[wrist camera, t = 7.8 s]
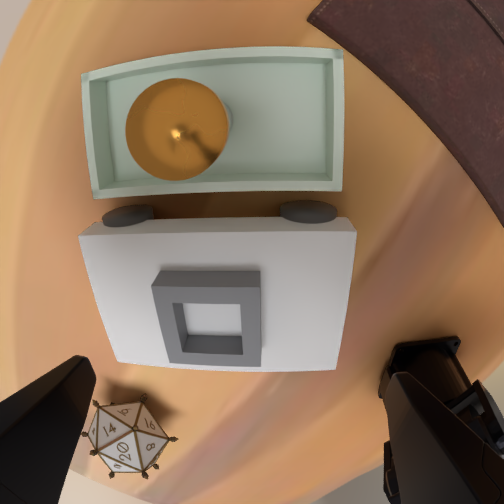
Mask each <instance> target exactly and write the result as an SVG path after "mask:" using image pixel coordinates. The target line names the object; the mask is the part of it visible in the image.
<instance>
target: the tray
mask: <svg viewBox="0 0 504 504" xmlns="http://www.w3.org/2000/svg"><path fill="white" fill-rule="evenodd" d="M170 78H184V79H189V80H193V81H196V82H199V83H201V84H204V85H205V86H207V87H209V88H210V89H212V90H213V91H214V92H215V93H216V94H217V95H218V96H219V97H220V99H221V100H222V101H223V102H224V103H226V104H227V105H228V106H229V108H230V109H231V111H232V114H233V126H232V129H231V131H230V132H229V136H228V140H227V143H226V146H225V148H224V150H223V152H222V153H221V155H220V156H219V157H218V159H217V160H216V161H215V162H214V163H213V164H212V165H211V166H210V167H209V168H208V169H206V170H205V171H204V172H202V173H201V174H199V175H197V176H195V177H192V178H190V179H186V180H180V181H169V180H163V179H160V178H157V177H154V176H152V175H151V174H149V173H147V172H146V171H144V170H143V169H142V168H141V167H140V166H139V165H138V164H137V163H136V161H135V160H134V159H133V157H132V155H131V154H130V151H129V149H128V146H127V142H126V136H125V126H126V119H127V115H128V113H129V110H130V108H131V106H132V104H133V102H134V101H135V100H136V98H137V97H138V96H139V95H140V94H141V93H142V92H143V91H144V90H145V89H146V88H148V87H149V86H151V85H153V84H155V83H157V82H159V81H162V80H165V79H170ZM81 87H82V107H83V121H84V132H85V142H86V151H87V160H88V167H89V174H90V181H91V188H92V194H93V199H104V198H116V197H129V196H143V195H159V194H178V193H200V192H231V191H342V180H343V156H344V62H343V50H340V49H328V48H313V47H283V46H267V47H237V48H222V49H210V50H200V51H191V52H183V53H176V54H169V55H163V56H157V57H151V58H146V59H141V60H136V61H131V62H126V63H122V64H117V65H113V66H109V67H105V68H101V69H97V70H94V71H90V72H87V73H83V74H81Z"/></svg>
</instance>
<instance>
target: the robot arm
mask: <svg viewBox="0 0 504 504" xmlns="http://www.w3.org/2000/svg"><path fill="white" fill-rule="evenodd" d="M460 343H461V340H460V339H459V337H449V338H442V339H435V340H427V341H419V342H410V343H401V344H398V345H396V346H395V347H394V350H393V353H392V356H391V359H390V362H389V365H388V366H387V368H386V369H385V372H384V375H383V378H382V380H381V383H380V386H379V392H378V396H379V398H381V399H383V402H384V405H385V409H386V412H387V417H388V426H389V437H390V440H389V441H387V442H385V443H384V492H385V493H386V496H387V498H388V500H389V502H390V503H391V504H504V418H503V416H502V414H501V412H500V410H499V408H498V406H497V404H496V403H495V401H494V399H493V398H492V396H491V395H490V393H489V392H488V391H487V390H486V388H485V387H484V386H483V385H482V383H481V382H480V381H479V380H478V379H477V380H476V381H475V382H474V383H472V384H471V383H470V381H469V379H468V377H467V375H466V374H465V372H464V370H463V368H462V366H461V365H460V363H459V361H458V359H457V358H456V356H455V354H456V352H457V350H458V347H459V345H460ZM400 349H401V350H400ZM95 384H96V375H95V372H94V370H93V368H92V365H91V363H90V361H89V359H88V358H87V357H85V356H80V355H75V356H73V357H72V358H70V359H68V360H67V361H65V362H64V363H62V364H60V365H59V366H57V367H56V368H54V369H52V370H51V371H49V372H48V373H46V374H44V375H43V376H41V377H40V378H38V379H37V380H35V381H33V382H32V383H30V384H29V385H27V386H25V387H24V388H22V389H21V390H19V391H18V392H16V393H14V394H13V395H11V396H10V397H8V398H6V399H5V400H3V401H2V402H0V504H58V502H59V498H60V495H61V491H62V488H63V485H64V482H65V479H66V475H67V472H68V469H69V466H70V463H71V460H72V457H73V454H74V451H75V449H76V446H77V443H78V440H79V437H80V435H81V432H82V429H83V426H84V423H85V420H86V417H87V413H88V409H89V406H90V402H91V398H92V394H93V391H94V387H95ZM482 412H483V413H482Z"/></svg>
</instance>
